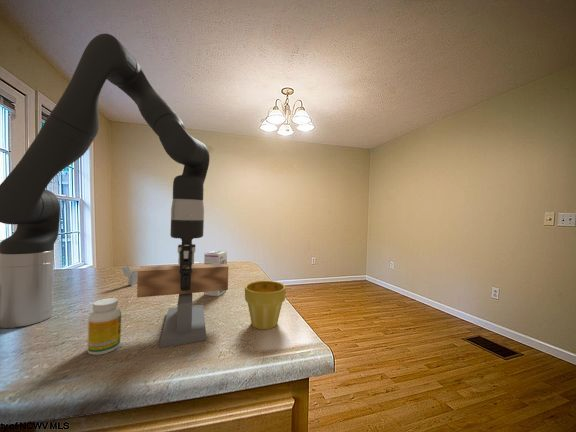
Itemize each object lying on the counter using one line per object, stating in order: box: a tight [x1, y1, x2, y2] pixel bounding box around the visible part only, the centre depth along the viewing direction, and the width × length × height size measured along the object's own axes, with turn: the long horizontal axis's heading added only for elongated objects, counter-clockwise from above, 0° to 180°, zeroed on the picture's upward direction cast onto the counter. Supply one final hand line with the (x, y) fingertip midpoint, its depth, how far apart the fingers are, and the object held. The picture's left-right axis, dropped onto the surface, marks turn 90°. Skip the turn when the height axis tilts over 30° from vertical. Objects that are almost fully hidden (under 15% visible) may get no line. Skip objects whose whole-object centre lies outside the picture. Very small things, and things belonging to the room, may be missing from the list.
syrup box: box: [203, 250, 228, 297], centre depth 84 cm, size 6×6×14 cm
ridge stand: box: [159, 293, 207, 349], centre depth 60 cm, size 9×18×8 cm, turn 21°
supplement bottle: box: [87, 297, 122, 356], centre depth 49 cm, size 5×5×10 cm
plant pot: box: [244, 280, 287, 330], centre depth 62 cm, size 10×10×10 cm
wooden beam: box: [136, 263, 229, 298], centre depth 60 cm, size 20×4×6 cm, turn 112°
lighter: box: [120, 264, 139, 287], centre depth 91 cm, size 7×2×8 cm, turn 167°
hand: (185, 287), depth 60 cm, fingers closed on wooden beam, 4 cm apart
